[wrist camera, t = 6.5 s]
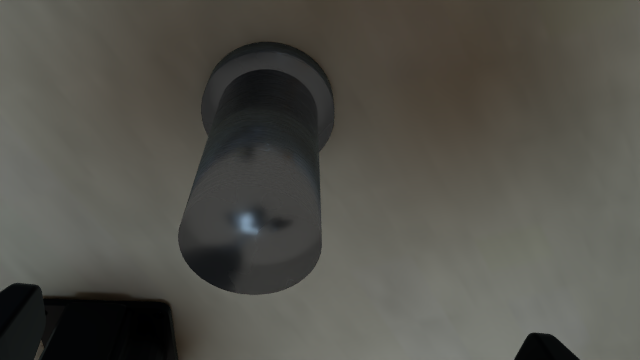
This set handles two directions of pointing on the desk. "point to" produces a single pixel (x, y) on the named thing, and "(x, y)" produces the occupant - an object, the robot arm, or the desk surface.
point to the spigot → (259, 171)
